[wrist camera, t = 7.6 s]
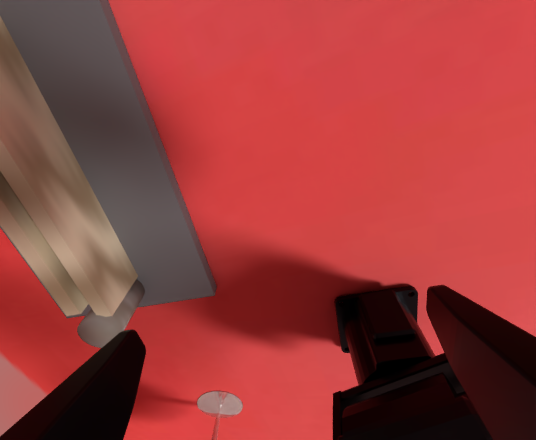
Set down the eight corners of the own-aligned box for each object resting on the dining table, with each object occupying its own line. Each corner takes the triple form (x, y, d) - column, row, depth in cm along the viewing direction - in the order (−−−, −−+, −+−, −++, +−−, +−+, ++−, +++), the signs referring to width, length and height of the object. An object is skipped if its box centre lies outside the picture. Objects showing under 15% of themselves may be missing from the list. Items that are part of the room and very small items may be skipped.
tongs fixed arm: (150, 298, 23) (125, 345, 19) (120, 303, 24) (89, 350, 20) (-16, -14, 14) (-127, -45, 10) (-61, 0, 14) (-187, -25, 10)
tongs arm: (112, 273, 22) (80, 314, 18) (100, 275, 22) (66, 316, 18) (-50, -7, 14) (-160, -32, 10) (-68, -1, 14) (-183, -24, 10)
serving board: (216, 287, 24) (214, 295, 23) (74, 309, 25) (67, 318, 24) (83, -64, 14) (70, -73, 13) (-139, 7, 15) (-164, 3, 14)
